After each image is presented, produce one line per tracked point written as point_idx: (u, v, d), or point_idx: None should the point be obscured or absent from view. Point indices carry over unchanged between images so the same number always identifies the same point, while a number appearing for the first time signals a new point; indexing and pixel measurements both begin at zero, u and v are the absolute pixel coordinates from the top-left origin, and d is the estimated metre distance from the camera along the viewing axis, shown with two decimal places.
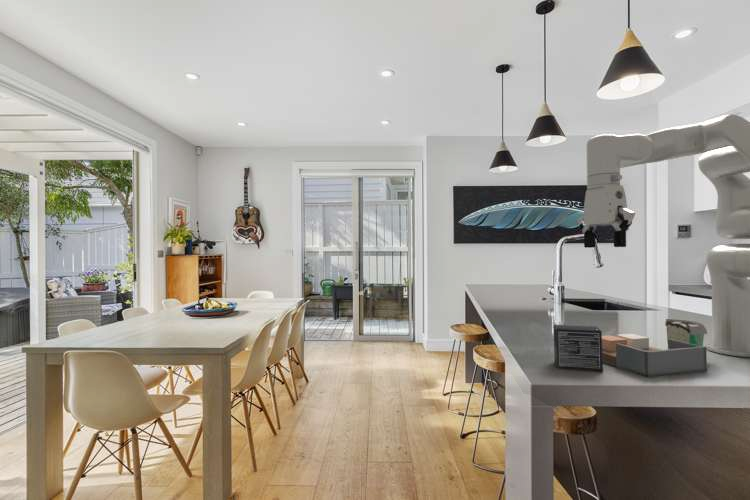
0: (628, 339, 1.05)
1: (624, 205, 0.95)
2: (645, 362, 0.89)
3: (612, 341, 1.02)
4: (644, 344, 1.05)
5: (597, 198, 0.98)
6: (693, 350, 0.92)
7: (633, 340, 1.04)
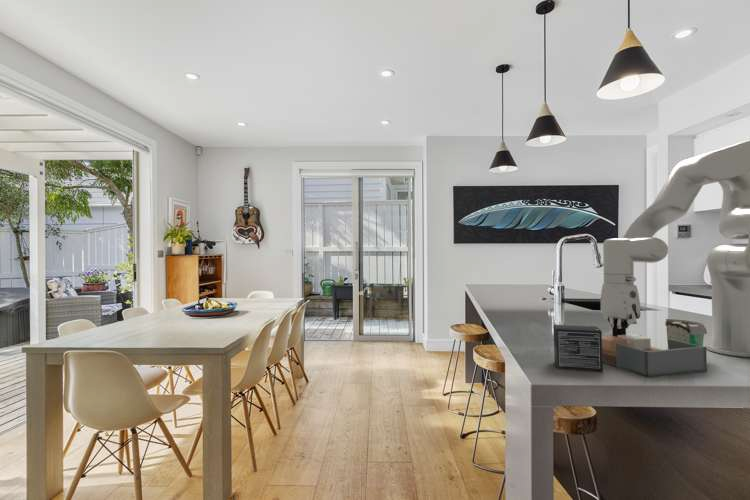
0: (629, 339, 1.05)
1: (637, 303, 1.07)
2: (645, 362, 0.89)
3: (612, 341, 1.02)
4: (646, 344, 1.04)
5: (613, 294, 1.10)
6: (693, 350, 0.92)
7: (634, 340, 1.03)
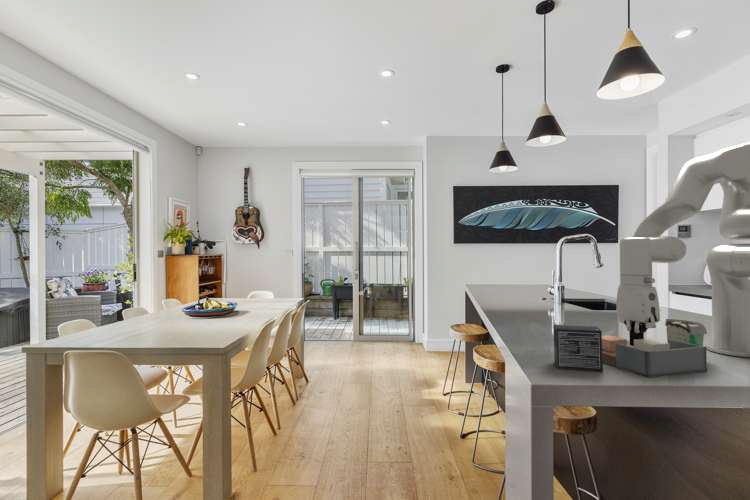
0: (647, 344, 0.99)
1: (657, 306, 1.01)
2: (645, 362, 0.89)
3: (612, 341, 1.02)
4: None
5: (630, 296, 1.04)
6: (693, 350, 0.92)
7: (652, 346, 0.98)
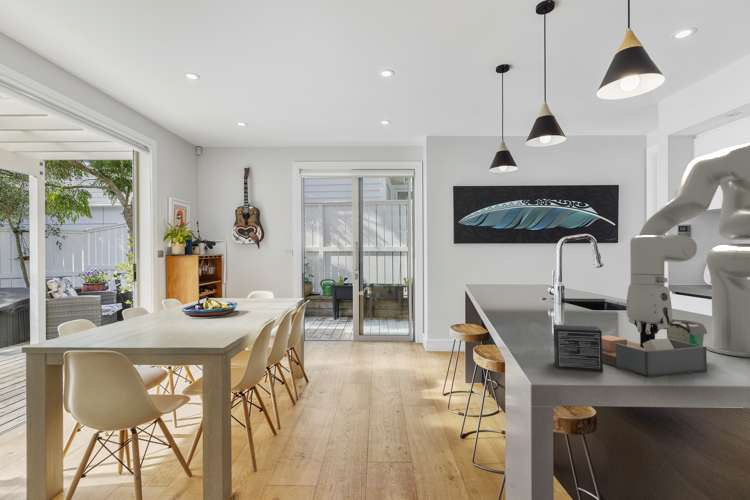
0: None
1: (669, 307, 0.98)
2: (645, 362, 0.89)
3: (612, 341, 1.02)
4: None
5: (641, 296, 1.01)
6: (693, 350, 0.92)
7: None
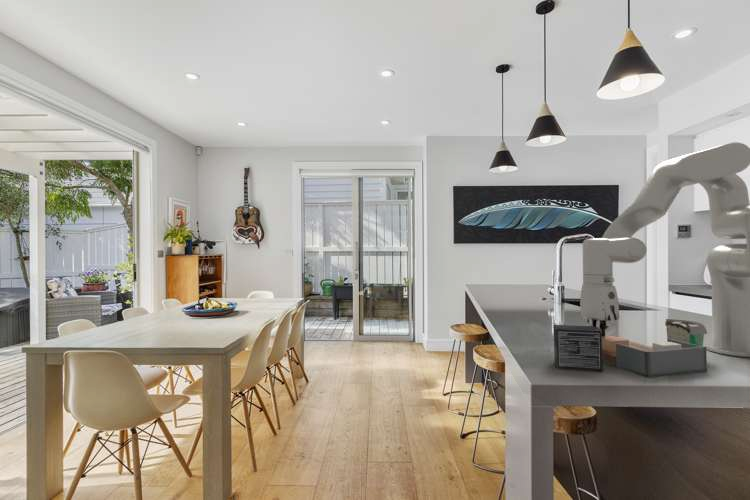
0: None
1: (616, 305, 1.05)
2: (645, 362, 0.89)
3: (614, 342, 1.02)
4: None
5: (592, 295, 1.08)
6: (693, 350, 0.92)
7: None
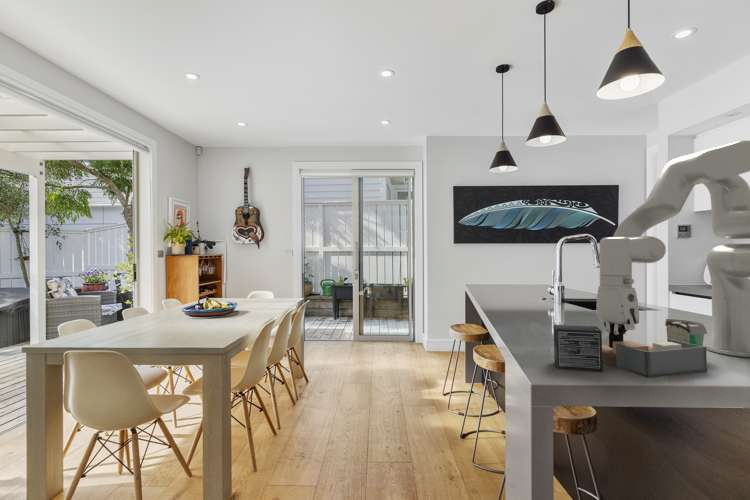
0: None
1: (636, 307, 0.99)
2: (645, 362, 0.89)
3: None
4: None
5: (609, 297, 1.02)
6: (693, 350, 0.92)
7: None
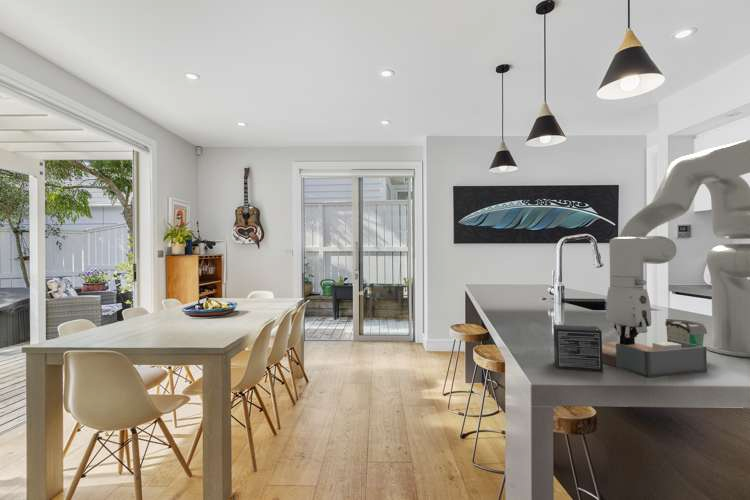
0: None
1: (648, 310, 0.95)
2: (645, 362, 0.89)
3: None
4: None
5: (620, 299, 0.99)
6: (693, 350, 0.92)
7: None
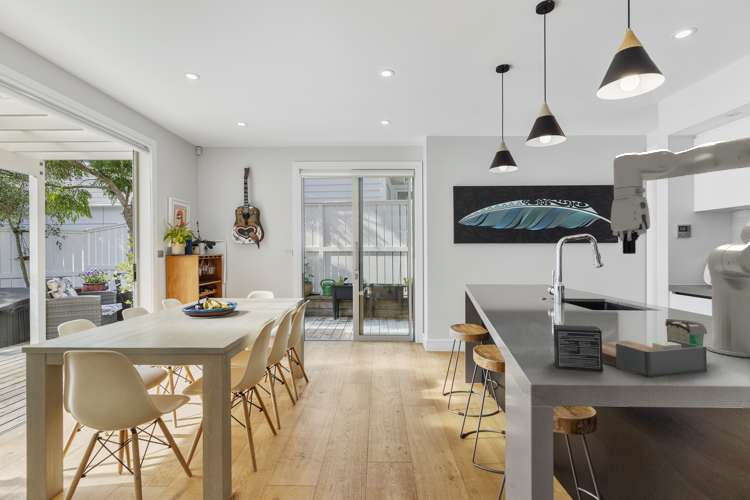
0: None
1: (647, 214, 1.11)
2: (645, 362, 0.89)
3: None
4: None
5: (623, 208, 1.14)
6: (693, 350, 0.92)
7: None
